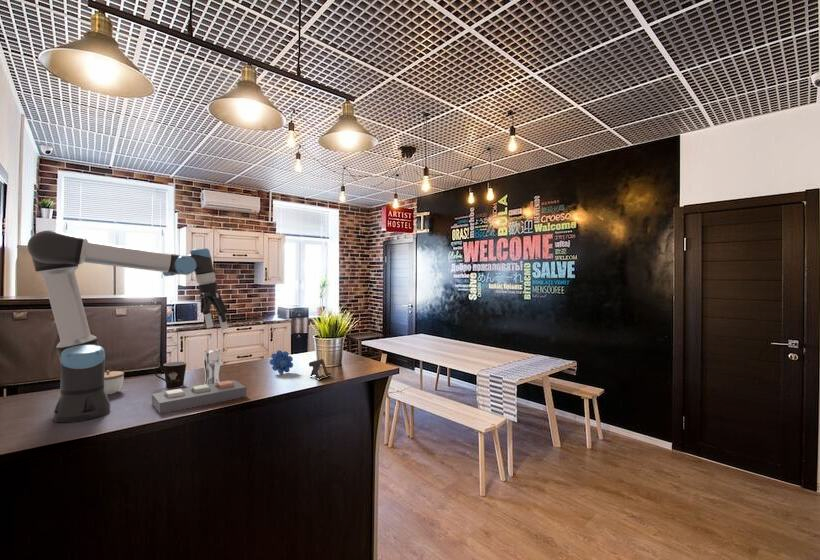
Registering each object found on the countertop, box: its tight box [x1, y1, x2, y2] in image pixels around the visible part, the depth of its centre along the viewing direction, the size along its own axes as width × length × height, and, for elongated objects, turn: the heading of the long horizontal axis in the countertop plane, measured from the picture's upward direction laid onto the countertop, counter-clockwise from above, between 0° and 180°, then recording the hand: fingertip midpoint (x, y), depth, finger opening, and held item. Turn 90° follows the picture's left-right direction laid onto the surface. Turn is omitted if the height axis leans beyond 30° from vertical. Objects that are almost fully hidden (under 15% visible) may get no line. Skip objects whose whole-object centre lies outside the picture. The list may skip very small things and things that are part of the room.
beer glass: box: [203, 349, 222, 385], centre depth 173 cm, size 7×7×15 cm
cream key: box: [164, 388, 184, 398], centre depth 143 cm, size 5×5×3 cm
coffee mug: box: [153, 361, 187, 389], centre depth 168 cm, size 12×9×10 cm
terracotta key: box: [217, 380, 234, 389], centre depth 156 cm, size 5×5×3 cm
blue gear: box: [269, 349, 294, 374], centre depth 192 cm, size 12×7×12 cm, turn 121°
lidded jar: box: [104, 369, 125, 396], centre depth 157 cm, size 11×11×9 cm
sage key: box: [191, 384, 210, 394], centre depth 150 cm, size 5×5×3 cm
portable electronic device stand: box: [308, 358, 332, 379], centre depth 186 cm, size 9×8×8 cm
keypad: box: [151, 379, 247, 415], centre depth 150 cm, size 30×14×4 cm, turn 134°
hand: (217, 328), depth 174 cm, fingers open, 13 cm apart
